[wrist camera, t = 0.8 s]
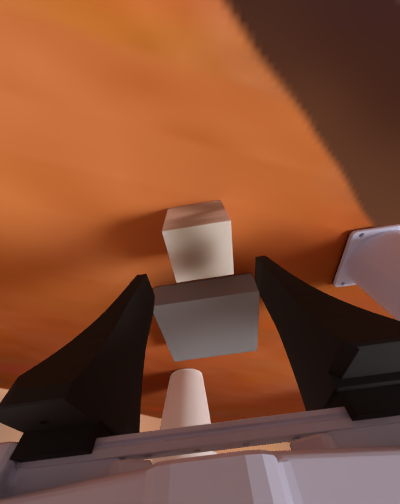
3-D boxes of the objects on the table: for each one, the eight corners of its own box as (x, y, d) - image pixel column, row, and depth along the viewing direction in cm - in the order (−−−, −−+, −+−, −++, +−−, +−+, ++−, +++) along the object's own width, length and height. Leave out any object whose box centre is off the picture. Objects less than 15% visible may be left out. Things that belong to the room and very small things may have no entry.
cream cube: (220, 199, 17) (230, 220, 13) (224, 244, 20) (233, 274, 16) (168, 208, 17) (161, 231, 13) (178, 251, 20) (176, 282, 16)
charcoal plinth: (251, 273, 22) (259, 290, 20) (250, 331, 29) (256, 350, 26) (154, 287, 22) (150, 306, 20) (175, 341, 29) (174, 361, 26)
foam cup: (158, 366, 33) (143, 482, 22) (209, 362, 33) (219, 474, 22) (166, 389, 38) (158, 491, 27) (210, 385, 38) (220, 485, 27)
